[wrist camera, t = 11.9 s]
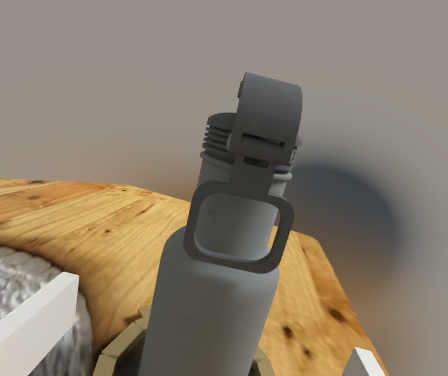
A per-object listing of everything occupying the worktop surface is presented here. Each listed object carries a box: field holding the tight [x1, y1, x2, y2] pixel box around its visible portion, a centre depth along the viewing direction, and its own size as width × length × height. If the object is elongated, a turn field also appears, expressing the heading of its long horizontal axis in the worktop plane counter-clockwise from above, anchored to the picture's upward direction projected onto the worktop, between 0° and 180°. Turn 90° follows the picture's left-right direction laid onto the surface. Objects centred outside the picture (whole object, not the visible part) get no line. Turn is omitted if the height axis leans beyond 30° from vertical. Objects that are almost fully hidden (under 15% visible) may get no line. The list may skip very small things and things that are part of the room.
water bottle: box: [138, 72, 303, 376], centre depth 20 cm, size 10×10×28 cm
